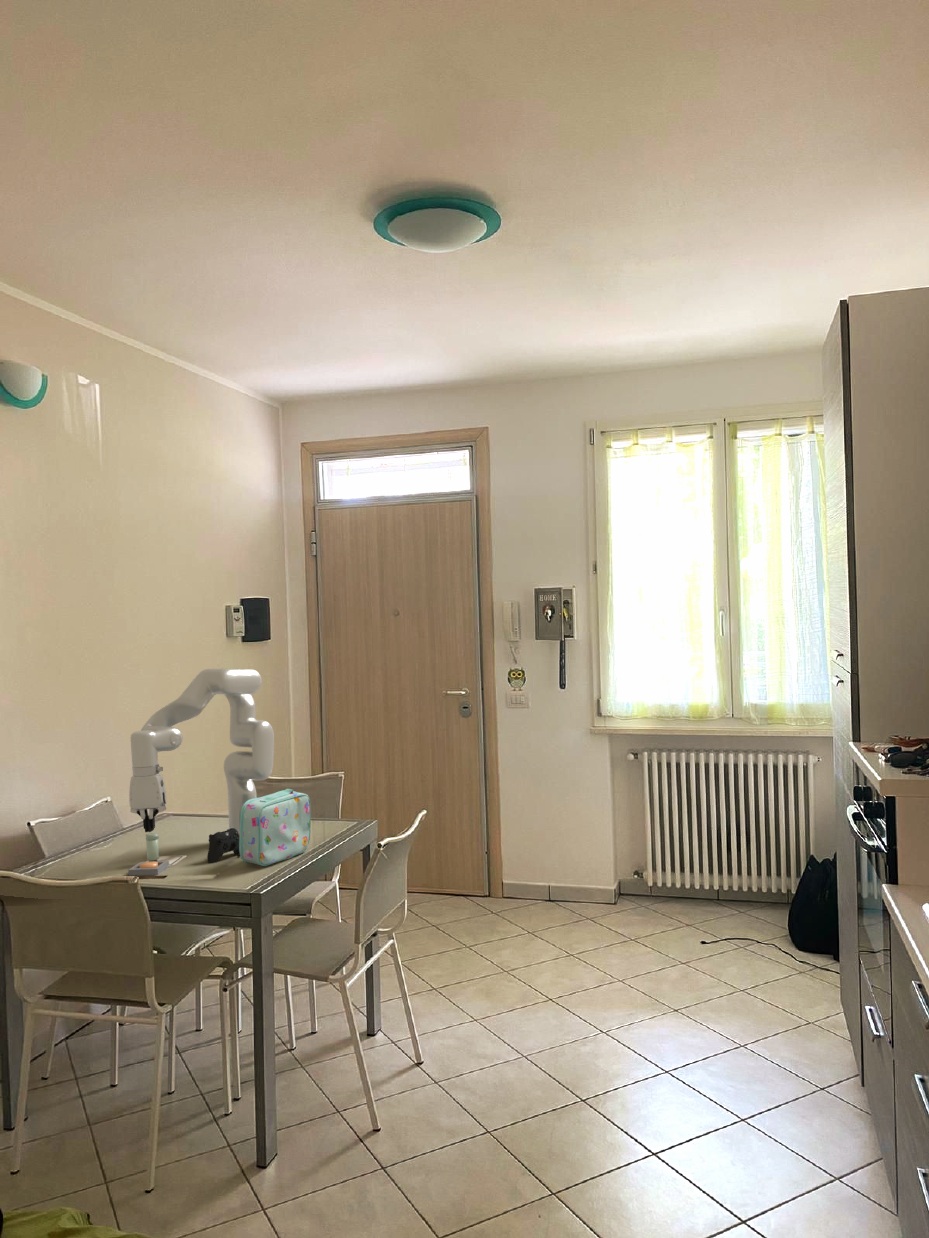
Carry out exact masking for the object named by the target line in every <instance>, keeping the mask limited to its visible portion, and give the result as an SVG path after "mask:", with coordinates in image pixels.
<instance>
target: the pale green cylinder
mask: <svg viewBox="0 0 929 1238" xmlns="http://www.w3.org/2000/svg"><path fill="white" fill-rule="evenodd" d="M159 836H160V835H159V833H158V832H148V833H146V834H145V840H146V841H145V843H146V861H148V860H149V862H152V861H157V859H159V856H160V851H159V850H160V848H159V846H160V845H159V838H160V837H159Z"/></svg>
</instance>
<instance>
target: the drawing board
mask: <svg viewBox="0 0 929 1238" xmlns="http://www.w3.org/2000/svg"><path fill="white" fill-rule="evenodd" d="M187 857H188V855H187V854H186V855H159V859H157V861H169V867H170V866H175V865H176V864H178V863H179V862H181V861H182V860H184V859H185V858H187ZM145 862H149V860H146V861H145ZM137 876H138V877H139V879H138V880H155V879H156V880H157V879H158V880H162V879H163V880H164V879H165V878H167V877H168V875H137Z"/></svg>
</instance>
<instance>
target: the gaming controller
mask: <svg viewBox="0 0 929 1238" xmlns="http://www.w3.org/2000/svg"><path fill="white" fill-rule="evenodd" d="M239 837H240V835H239V833H238V831H237V830H236V829H235V828H230V829H229V828H228V829H226V830H223V831H217V832H215V833H213V834H209V835H208V842H209V843H208V844H209V845H208V850H207V856H206V857H207V859H206V860H207V863H208V864H214V863H218V862H219V860H220V859H221V858H222V857H223V855H224V854H227V853H230V852H233V854H234V855H237V856H240V853H239Z"/></svg>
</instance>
